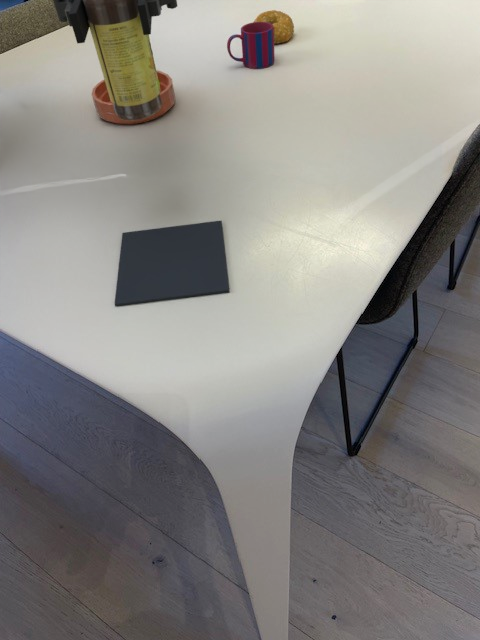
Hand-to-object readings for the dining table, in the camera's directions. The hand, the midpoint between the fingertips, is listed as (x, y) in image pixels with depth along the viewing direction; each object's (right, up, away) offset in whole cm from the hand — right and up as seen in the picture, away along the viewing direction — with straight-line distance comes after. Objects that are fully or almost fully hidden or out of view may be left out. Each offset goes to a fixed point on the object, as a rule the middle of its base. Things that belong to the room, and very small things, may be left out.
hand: (110, 24), depth 50 cm
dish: (-7, +11, +46) cm, 48 cm away
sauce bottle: (0, -4, +12) cm, 13 cm away
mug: (+16, +25, +55) cm, 62 cm away
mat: (+4, -22, +14) cm, 27 cm away
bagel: (+20, +35, +64) cm, 76 cm away
